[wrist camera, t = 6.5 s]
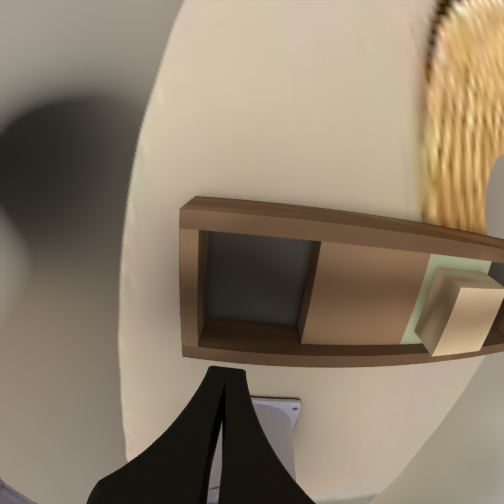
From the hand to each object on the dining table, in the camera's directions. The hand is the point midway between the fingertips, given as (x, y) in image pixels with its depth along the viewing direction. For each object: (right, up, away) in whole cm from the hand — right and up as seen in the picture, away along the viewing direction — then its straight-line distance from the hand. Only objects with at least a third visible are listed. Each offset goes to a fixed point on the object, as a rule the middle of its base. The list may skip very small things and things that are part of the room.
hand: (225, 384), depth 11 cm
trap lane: (+12, +3, +9) cm, 15 cm away
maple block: (+15, +2, +6) cm, 17 cm away
